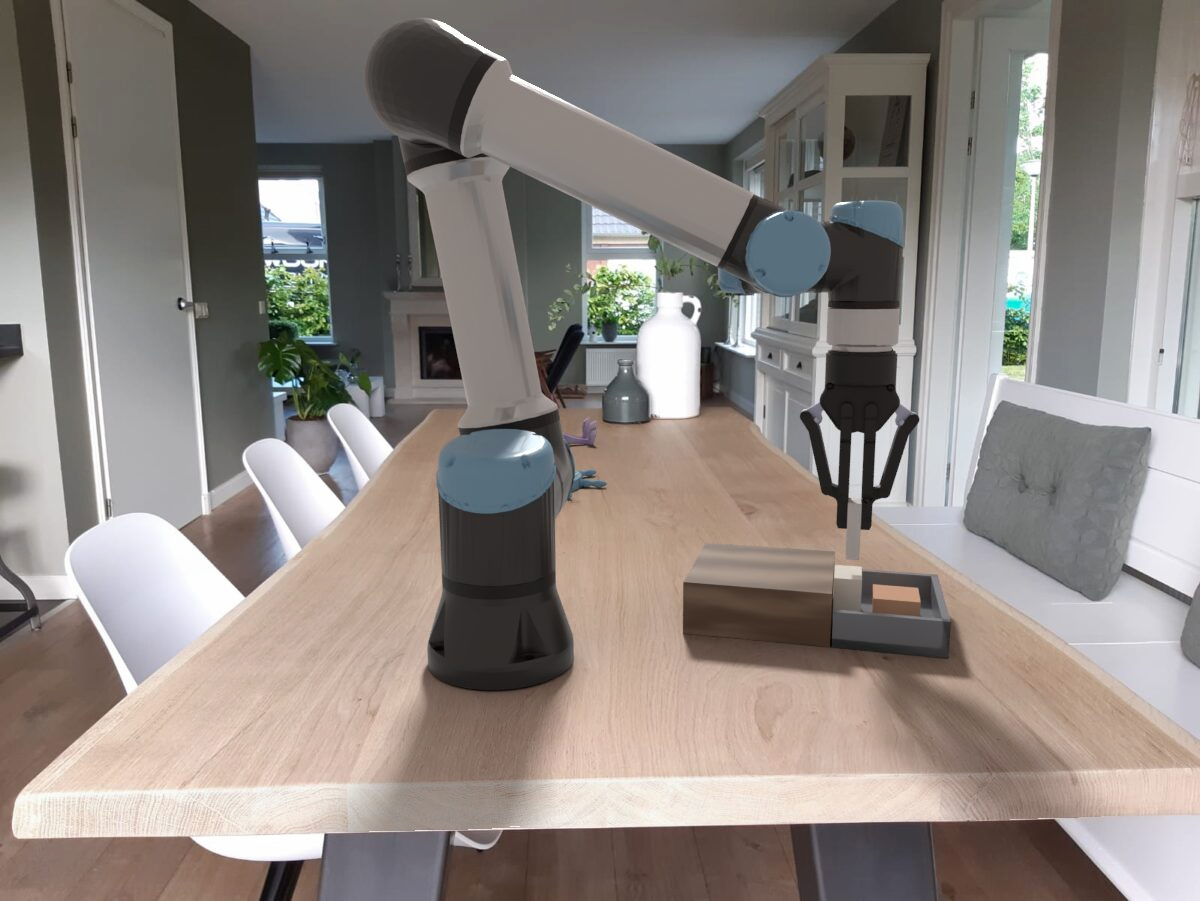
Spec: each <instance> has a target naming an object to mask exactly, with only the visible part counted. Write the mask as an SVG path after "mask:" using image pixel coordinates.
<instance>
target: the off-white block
mask: <svg viewBox="0 0 1200 901" xmlns="http://www.w3.org/2000/svg"><path fill="white" fill-rule="evenodd" d="M862 569H863V567H862V566H856V565H855V566H854V565H842V564H834V588H833V606H832V610H833V609H835V610H847V611H858V612H861V593H862Z"/></svg>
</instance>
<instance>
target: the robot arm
mask: <svg viewBox="0 0 1200 901" xmlns="http://www.w3.org/2000/svg"><path fill="white" fill-rule="evenodd" d="M377 36H378V37H376V39H375V40H374V42H373V43H372V44H371V46H370V48H369V51H368V53H367V55H366V59H365V62H364V67H363V84H364V90H365V95H366V98H367V101H368V103H369V106H370V107H371V110H372V112H373V113H374V115H375V116H376V117H377V119H378V120H379V123H381V124H382V125H383V126H384V127H385V128H387V129H388V131H390V132H391V133H392V134H394V135H396V136H397V137H398V142H399V145H400V146H399V148H400V152H401V155H402V156H401V157H402V160H403V166H404V170H405V174H406V180H407V182H408V183H410V184H411V185H413V186H414V187H415V188H417V189H418V190H419V191H420V192H422V194H424V197H425V202H426V203H425V204H426V207H427V211H428V212H427V213H428V217H429V222H430V227H431V233H432V236H433V241H434V242H433V243H434V246H435V252H436V257H437V261H438V267H439V271H440V276H441V282H442V285H443V287H442V288H443V290H444V291H443V292H444V295H445V296H444V297H445V301H446V305H447V310H448V316H449V320H450V325H451V330H452V335H453V340H454V345H455V349H456V354H457V360H458V364H459V368H460V369H459V370H460V373H461V374H460V375H461V379H462V384H463V385H462V386H463V389H464V394H465V400H466V403H467V408H466V410H465V412H464V414H463V415H462V417H461V418H460V420H459V421H458V422H457V427H458V431H459V436H456V437H454V438H453V439H451V440H449V441H448V442H446V444H444V445H443V447H442V449H440V452H439V455H438V457H437V458H438V460H437V471H436V475H435V477H436V483H435V484H436V488H437V493H438V513H439V514H438V515H439V516H438V517H439V518H438V519H439V536H440V537H439V539H440V540H439V541H440V542H439V543H440V562H441V564H440V565H441V585H442V586H441V587H442V588H441V589H442V590H441V596H440V599H439V603H438V606H437V609H436V613H435V617H434V619H433V624H432V628H431V630H430V633H429V637H428V640H427V665H428V666H427V667H428V669H429V671H430V673H431V674H432V675H433V676H434V677H435V678H437V679H438V680H440V681H441V682H444V683H447V684H450V685H453V686H456V687H460V688H464V689H471V690H479V691H480V690H482V691H483V690H484V691H499V690H501V691H502V690H503V691H504V690H515V689H522V688H526V687H531V686H534V685H535V686H536V685H539V684H541V683H545V682H548V681H550V680H551V681H552V680H553V679H555V678H557V677H558V676H559V677H560V675H562V674H564V673H565V672H566V671H567V670H568V669H570V667H571V666H572V664H573V662H574V660H575V659H574V658H575V646H574V644H575V640H574V634H573V631H572V629H571V625H570V624H569V621H568V620H569V619H568V618H567V615H566V612H565V609H564V605H563V604H562V603H563V602H562V600H561V598H560V594H559V592H558V588H557V576H556V575H557V574H556V573H557V572H556V570H557V569H556V566H557V565H556V562H557V561H556V559H557V558H556V519H557V518H558V516H559V514H560V512H561V511H562V509H563V508H564V506H565V504H566V503H567V501H568V500H569V499H570V498H569V496H570V494H571V493H572V492H573V491H572V489H573V485H574V479H575V470H576V464H575V462H576V461H575V458H574V454H573V451H572V450H571V446H569V443H567V442H566V440H565V438H564V436H563V433H564V432H563V427H562V422H561V417H560V411H559V407H558V404H557V403H556V402H555V401H553V400H551V399H550V398H548V397H547V396H546V395H545V394H544V393H543V392H542V387H541V381H540V377H539V376H540V375H539V371H538V370H539V369H538V366H537V362H536V361H537V360H536V355H535V351H534V350H535V349H534V345H533V344H534V343H533V340H532V335H531V328H530V322H529V320H528V319H529V318H528V313H527V308H526V302H525V297H524V293H523V292H524V291H523V287H522V283H521V282H522V281H521V276H520V270H519V265H518V261H517V256H516V255H517V254H516V250H515V245H514V238H513V234H512V228H511V224H510V218H509V214H508V213H509V212H508V207H507V204H506V203H507V202H506V197H505V192H504V187H503V179H504V177H505V175H507V172H508V171H509V169H510V168H512V169H515V170H517V171H519V172H521V173H522V174H524V175H526V176H529V177H531V178H533V179H535V180H538V182H541V183H543V184H546V185H547V186H550V188H551V187H552V188H554V189H556V190H558V191H560V192H562V193H564V194H566V195H568V196H570V197H572V198H574V199H576V200H578V201H581V202H582V203H585V204H587V205H589V206H591V207H593V208H595V209H597V210H599V211H601V212H602V213H605V214H607V215H609V216H612V217H613V218H615V219H618V220H620V221H622V222H624V223H626V224H628V225H630V226H632V227H634V228H636V229H639V230H640V231H643V232H644V233H646V234H649V235H651V236H652V237H655V238H656V239H658V240H661V241H663V242H665V243H667V244H668V245H672V246H673V247H676V248H678V249H680V250H681V251H683V252H686V253H688V254H690V255H692V256H694V257H696V258H698V259H700V260H702V261H704V262H707V263H709V264H710V265H713V266H715V267H716V268H717V280H718V286H719V289H720V290H721V291H722V292H723V293H727V294H742V295H747V296H749V295H753V294H760V295H761V294H763V295H764V294H767V295H772V296H775V297H777V298H792V297H794V296H798V295H801V294H805V293H806V294H807V293H808V294H810V293H813V294H821V293H827V298H828V302H827V303H828V304H827V312H826V313H827V317H826V319H827V320H826V341H825V342H826V343H827V344H828V346H831V349H828V350H827V352H826V353H825V370H824V371H825V374H824V375H825V376H824V389H823V391H822V392H821V394H820V396H819V401H818V402H816V403H814V404H813V405H811V406H810V407H806V408H803V409H802V410H801V412H800V413H799V418H800V421H801V423H802V424H803V425H804V427H805V429H806V430H807V431H808V436H809V440H810V444H811V449H812V454H813V459H814V463H815V467H816V468H815V469H816V473H817V478H818V481H819V483H818V484H819V487H820V490H821V493H822V495H824V496H828V497H832V498H833V499H834V500H835V501H836V521H835V522H836V523H835V524H836V526H837V529H844V530H846V536H845V537H846V540H845V560H850V561H851V560H852V561H860V551H861V532H862V531H870V529H871V527H872V522H873V521H872V520H873V504H874V503H875V501H877V500H880V499H887V498H889V497H890V496H891V493H892V492H891V491H892V489H893V486H894V483H895V479H896V476H897V474H898V470H899V466H900V464H901V461H902V458H903V454H904V451H905V449H906V444H907V442H908V438H909V436H910V435H911V433H912V432H913V431H914V429H915V428H916V427H917V426H918V424H919V422H920V417H919V415H918V413H917V411H914V410H910V409H908V408H907V407H906V406H904V405H903V404H901V400H900V396H899V395H898V393H897V389H896V388H897V375H898V374H897V373H898V372H897V369H898V353H896V350H894V348H893V347H894V346H896V345H898V344H899V335H900V333H899V332H900V316H901V315H900V314H901V308H900V299H901V282H902V268H903V258H904V257H903V256H904V249H905V242H904V211H903V209H902V207H901V206H900V205H899V204H898V203H897V202H894V201H892V200H891V201H889V200H859V201H855V200H854V201H852V200H851V201H845V202H844V201H843V202H837V203H835V204H834V205H833V206H832V208H831V212H830V213H831V214H830V215H829V218H828V220H823V221H818V220H817V219H816V218H814V217H813V216H811V215H809V214H807V213H805V212H804V211H800V210H798V209H787V208H785V207H782V206H781V205H778V204H776V203H774V202H773V201H770V200H768V199H766V198H764V197H761V196H758V194H757V195H756V194H755V193H754V192H752V191H749V190H748V189H745V188H744V187H742V186H740V185H737V184H736V183H733V182H732V181H729V180H727V179H726V178H724V177H721V176H720V175H718V174H715V173H713V172H712V171H709V170H707V169H705V168H702V167H701V166H699V165H696V164H695V163H693V162H690V161H689V160H687V159H684V158H683V157H681V156H678V155H676V154H675V153H672V152H671V151H668V150H666V149H664V148H662V147H660V146H658V145H656V144H655V143H654V144H653V143H652V142H650V141H648V140H646V139H644V138H642V137H639V136H638V135H636V134H633V133H631V132H629V131H627V130H625V129H624V128H622V127H620V126H617V125H615V124H613V123H611V122H609V121H607V120H605V119H603V118H601V117H598V116H597V115H595V114H593V113H591V112H588V111H586V110H585V109H582V108H580V107H578V106H576V105H574V104H572V103H570V102H568V101H566V100H563V99H562V98H560V97H558V96H555V95H554V94H552V93H549V92H548V91H546V90H543V89H541V88H540V87H538V86H536V85H534V84H531V83H529V82H527V81H525V80H523V79H521V78H519V77H517V76H515V74H513V70H512V68H511V65H510V62H509V60H507V59H506V58H504V57H503V56H501V55H498V54H497V53H494V52H492V51H490V50H488V49H486V48H484V46H481V45H479V44H477V43H476V42H474V41H473V40H471V39H470V38H468V37H466V36H464V34H462V33H460V32H459V31H458V30H457V29H455V28H454V27H451V26H450V25H448V24H446V23H444V22H442V21H439V20H435V19H433V18H428V17H411V18H406V19H405V18H404V19H402V20H399V21H397V22H395V23H393V24H391V25H390V26H388V27H387V28H386V29H384V30H383V31H382V32H380V34H379V35H377ZM823 411H824V412H825V414H826V415H827V417H828V418H829V420H830V421H831V422H832V424H833V425H834V427H835V428H836V429H837V430H838V431H839V432H840V433H839V456H838V457H839V458H838V475H837V476H838V477H837V478H838V480H837V484H836V483H834V482H833V480H832V476H831V470H830V465H829V461H828V456H827V451H826V446H825V443H824V438H823V433H822V430H821V425H820V424H821V423H822V421H823ZM894 414H896V417H895V420H894V422H895V425H896V426H897V427H896V430H895V432H894V435H893V439H892V443H891V445H890V448H889V452H888V455H887V458H886V460H885V461H886V462H885V465H884V468H883V471H882V474H881V478H880V480H879V484H878V485H875V486H874V482H875V480H874V479H875V462H876V461H875V460H876V440H877V432H879V431H880V430H881V429H882V428H883V427H884V426H885V425H886V423H887V422H888V421H889V420H890V418H892V417H893V415H894ZM858 432H859V433H862V434H863V448H862V449H863V451H862V472H861V473H862V475H861V476H862V477H861V495H860V496H861V497H849V494H850V474H851V454H852V453H851V451H852V434H853V433H858Z"/></svg>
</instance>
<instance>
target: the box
mask: <svg viewBox="0 0 1200 901" xmlns="http://www.w3.org/2000/svg"><path fill="white" fill-rule="evenodd" d="M873 584H876V585H888V586H901V587H913V588H918V590H919V595H920V601H921V606H920V617H918V616H906V615H894V614H882V613H872V590H873ZM943 593H944V592H943V590H942V586H941V583H940V579H939V574H932V573H921V572H906V571H895V570H894V571H891V570H881V569H879V570H878V569H863V568H862V593H861V612H858V611H847V610H835V609H833V608H832V627H831V635H832V636H831V648H832V649H833V648H835V649H843V650H844V649H845V650H854V651H865V652H866V651H867V652H878V653H888V654H898V655H907V656H910V655H911V656H918V657H930V658H940V659H949V657H950V656H949V655H950V643H951V642H950V640H951V639H950V638H951V624H952V622H951V618H950V614H949V611H948V606H947V603H946V599H945V596H944V594H943Z"/></svg>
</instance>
